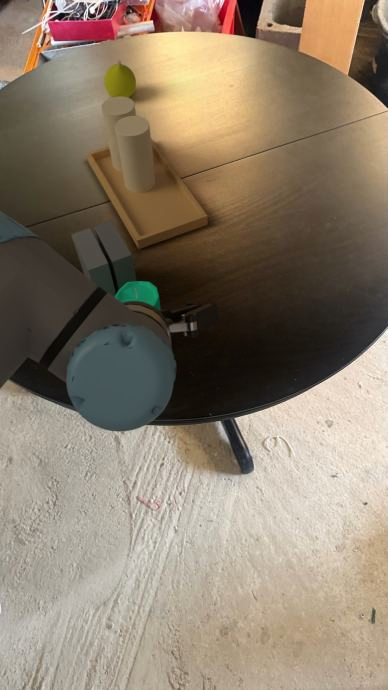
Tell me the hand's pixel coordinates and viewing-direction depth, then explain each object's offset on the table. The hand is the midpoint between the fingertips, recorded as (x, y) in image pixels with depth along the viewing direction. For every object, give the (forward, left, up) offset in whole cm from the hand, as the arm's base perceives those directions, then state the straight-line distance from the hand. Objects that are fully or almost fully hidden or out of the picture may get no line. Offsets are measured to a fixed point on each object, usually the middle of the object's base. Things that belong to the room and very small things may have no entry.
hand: (141, 313), depth 68 cm
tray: (-32, +13, -6) cm, 35 cm away
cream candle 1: (-41, +13, -6) cm, 43 cm away
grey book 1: (-11, -3, -6) cm, 13 cm away
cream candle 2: (-34, +13, -6) cm, 37 cm away
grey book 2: (-11, 0, -6) cm, 13 cm away
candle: (0, 0, -7) cm, 7 cm away
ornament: (-65, +21, -7) cm, 68 cm away
